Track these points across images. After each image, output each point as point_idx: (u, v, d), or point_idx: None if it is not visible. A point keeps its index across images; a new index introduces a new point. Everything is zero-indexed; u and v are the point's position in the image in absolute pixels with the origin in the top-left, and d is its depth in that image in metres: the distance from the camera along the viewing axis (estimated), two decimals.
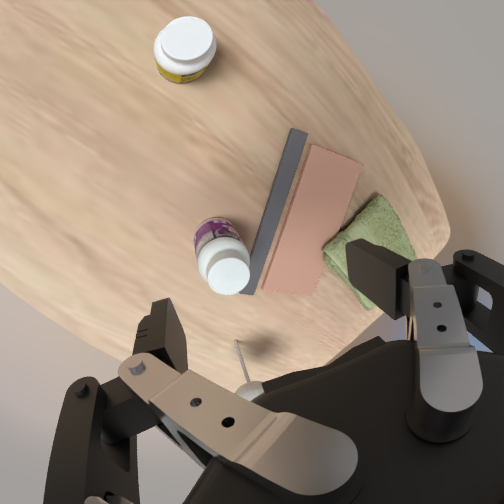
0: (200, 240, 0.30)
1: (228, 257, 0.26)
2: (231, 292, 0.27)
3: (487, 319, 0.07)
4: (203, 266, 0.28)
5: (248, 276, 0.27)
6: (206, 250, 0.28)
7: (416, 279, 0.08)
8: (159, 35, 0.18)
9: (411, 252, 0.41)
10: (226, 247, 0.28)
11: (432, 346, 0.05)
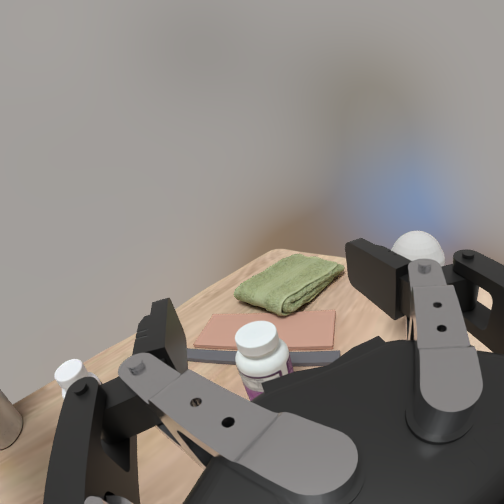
0: (251, 388, 0.26)
1: None
2: (273, 328, 0.26)
3: (487, 319, 0.07)
4: (258, 364, 0.25)
5: (256, 321, 0.28)
6: (242, 367, 0.26)
7: (416, 279, 0.08)
8: (64, 397, 0.24)
9: (280, 261, 0.56)
10: (239, 351, 0.27)
11: (432, 346, 0.05)
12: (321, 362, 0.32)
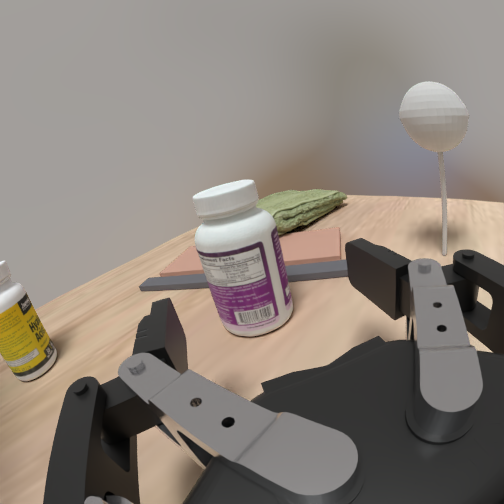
0: (217, 283, 0.18)
1: (193, 196, 0.18)
2: (249, 180, 0.18)
3: (487, 319, 0.07)
4: (225, 229, 0.17)
5: (227, 183, 0.19)
6: (202, 239, 0.17)
7: (416, 279, 0.08)
8: None
9: (271, 194, 0.48)
10: (200, 225, 0.19)
11: (432, 346, 0.05)
12: (326, 272, 0.24)
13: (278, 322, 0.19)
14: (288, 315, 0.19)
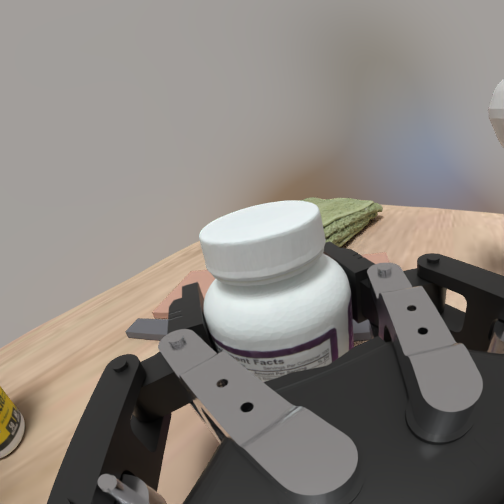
0: None
1: (200, 233, 0.10)
2: (308, 205, 0.09)
3: (459, 320, 0.08)
4: (267, 308, 0.08)
5: None
6: (220, 321, 0.09)
7: (379, 285, 0.08)
8: None
9: None
10: (213, 283, 0.10)
11: (420, 350, 0.05)
12: None
13: None
14: None
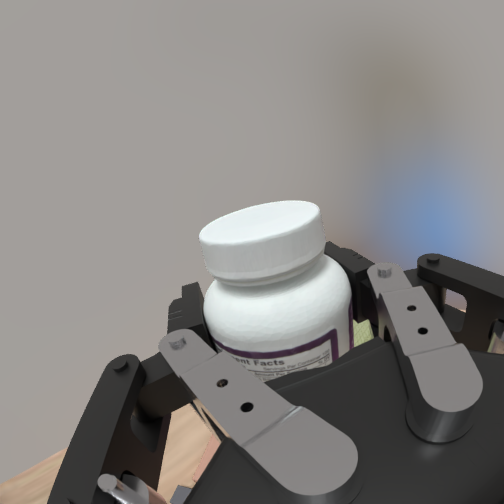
0: None
1: (200, 233, 0.10)
2: (308, 205, 0.09)
3: (459, 320, 0.08)
4: (267, 309, 0.08)
5: None
6: (220, 322, 0.09)
7: (379, 285, 0.08)
8: None
9: None
10: (213, 284, 0.10)
11: (419, 350, 0.05)
12: None
13: None
14: None
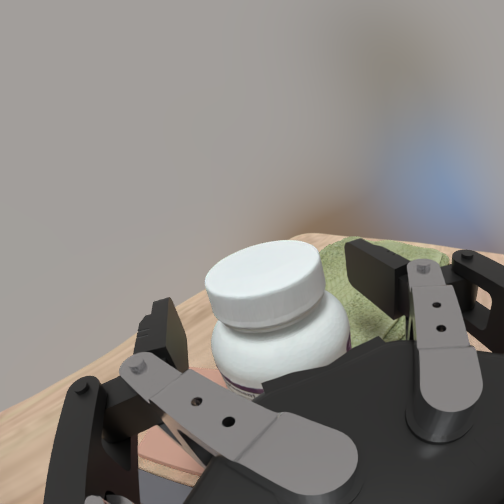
0: None
1: (205, 278, 0.10)
2: (309, 249, 0.10)
3: (486, 319, 0.07)
4: (271, 353, 0.08)
5: (262, 243, 0.11)
6: (228, 362, 0.09)
7: (415, 279, 0.08)
8: None
9: (326, 249, 0.28)
10: (220, 322, 0.11)
11: (432, 346, 0.05)
12: None
13: None
14: None
